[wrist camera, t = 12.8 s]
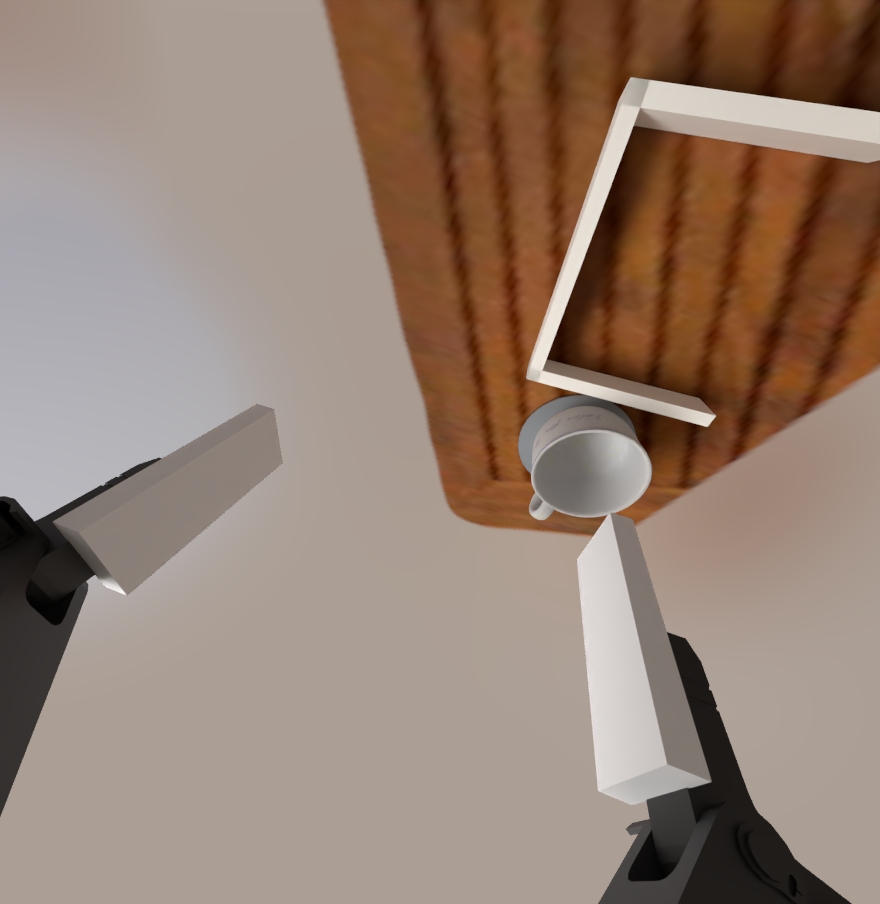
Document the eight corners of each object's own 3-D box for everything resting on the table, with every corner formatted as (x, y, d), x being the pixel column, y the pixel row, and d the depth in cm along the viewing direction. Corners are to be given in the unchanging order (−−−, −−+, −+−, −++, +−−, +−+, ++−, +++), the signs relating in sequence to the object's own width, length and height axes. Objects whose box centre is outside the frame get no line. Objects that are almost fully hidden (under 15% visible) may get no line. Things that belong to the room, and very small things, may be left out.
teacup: (590, 374, 33) (601, 407, 27) (656, 441, 35) (680, 487, 29) (496, 449, 41) (487, 488, 35) (554, 500, 43) (555, 546, 37)
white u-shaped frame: (619, 99, 23) (630, 77, 20) (884, 138, 21) (944, 121, 18) (528, 365, 35) (526, 378, 32) (692, 408, 33) (707, 426, 30)
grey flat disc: (539, 381, 36) (539, 382, 35) (659, 412, 34) (661, 415, 34) (506, 469, 43) (505, 472, 43) (603, 499, 42) (604, 502, 41)
